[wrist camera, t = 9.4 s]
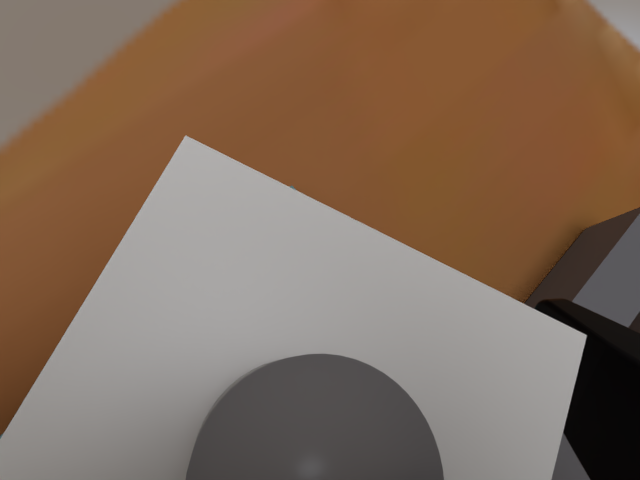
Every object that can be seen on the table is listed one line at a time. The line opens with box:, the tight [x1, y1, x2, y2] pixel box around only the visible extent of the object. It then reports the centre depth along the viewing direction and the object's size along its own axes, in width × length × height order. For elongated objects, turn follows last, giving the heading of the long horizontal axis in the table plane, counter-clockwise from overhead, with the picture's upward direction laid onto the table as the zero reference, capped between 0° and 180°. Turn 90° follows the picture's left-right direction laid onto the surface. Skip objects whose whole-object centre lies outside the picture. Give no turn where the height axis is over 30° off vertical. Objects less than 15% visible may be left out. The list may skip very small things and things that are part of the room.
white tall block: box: [0, 136, 587, 480], centre depth 9 cm, size 5×5×12 cm
